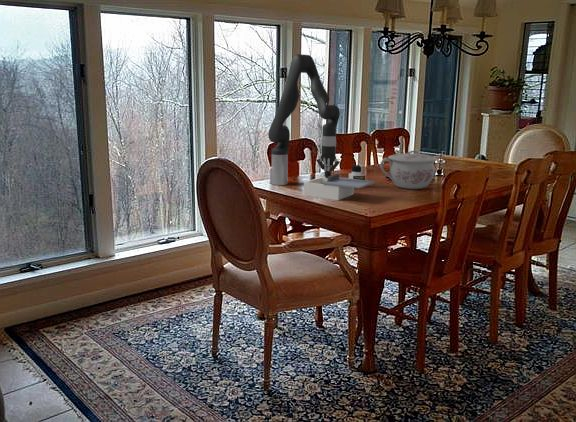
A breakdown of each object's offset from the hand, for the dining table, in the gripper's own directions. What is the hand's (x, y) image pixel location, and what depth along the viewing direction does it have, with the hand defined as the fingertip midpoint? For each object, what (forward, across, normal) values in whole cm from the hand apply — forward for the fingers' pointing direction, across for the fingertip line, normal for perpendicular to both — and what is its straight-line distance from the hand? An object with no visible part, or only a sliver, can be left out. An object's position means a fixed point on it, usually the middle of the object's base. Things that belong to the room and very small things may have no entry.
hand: (327, 178), depth 289 cm
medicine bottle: (+9, +3, +29) cm, 30 cm away
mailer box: (+9, +1, 0) cm, 9 cm away
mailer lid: (+1, +12, 0) cm, 12 cm away
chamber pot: (+9, +29, +45) cm, 54 cm away
